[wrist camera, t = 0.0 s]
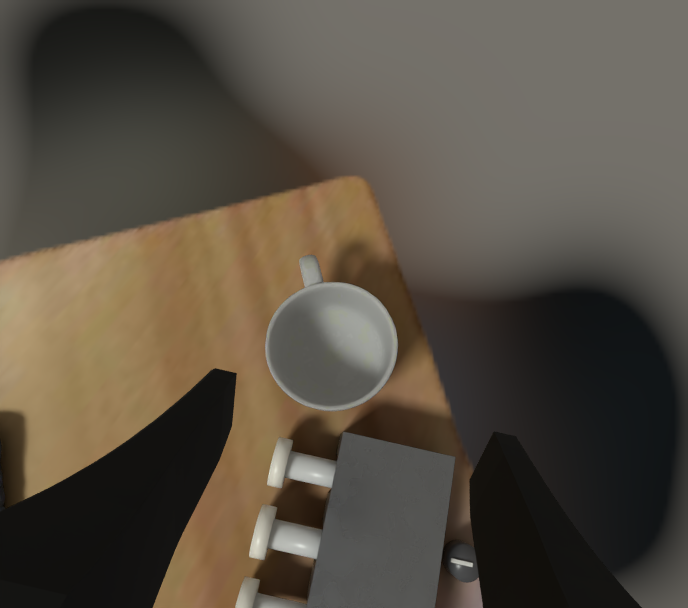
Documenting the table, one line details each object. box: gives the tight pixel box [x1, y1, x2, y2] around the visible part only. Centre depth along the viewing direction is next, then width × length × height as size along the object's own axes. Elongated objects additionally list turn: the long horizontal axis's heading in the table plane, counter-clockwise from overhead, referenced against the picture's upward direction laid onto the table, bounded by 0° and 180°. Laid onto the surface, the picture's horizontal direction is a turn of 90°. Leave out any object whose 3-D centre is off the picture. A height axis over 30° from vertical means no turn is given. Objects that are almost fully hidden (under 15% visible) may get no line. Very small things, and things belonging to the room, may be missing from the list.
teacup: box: [265, 255, 398, 411], centre depth 43 cm, size 14×11×8 cm
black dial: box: [442, 540, 479, 582], centre depth 41 cm, size 3×3×3 cm
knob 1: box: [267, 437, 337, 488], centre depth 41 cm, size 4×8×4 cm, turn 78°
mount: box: [306, 432, 455, 608], centre depth 39 cm, size 18×10×5 cm, turn 168°
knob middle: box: [249, 504, 322, 560], centre depth 39 cm, size 4×8×4 cm, turn 78°
